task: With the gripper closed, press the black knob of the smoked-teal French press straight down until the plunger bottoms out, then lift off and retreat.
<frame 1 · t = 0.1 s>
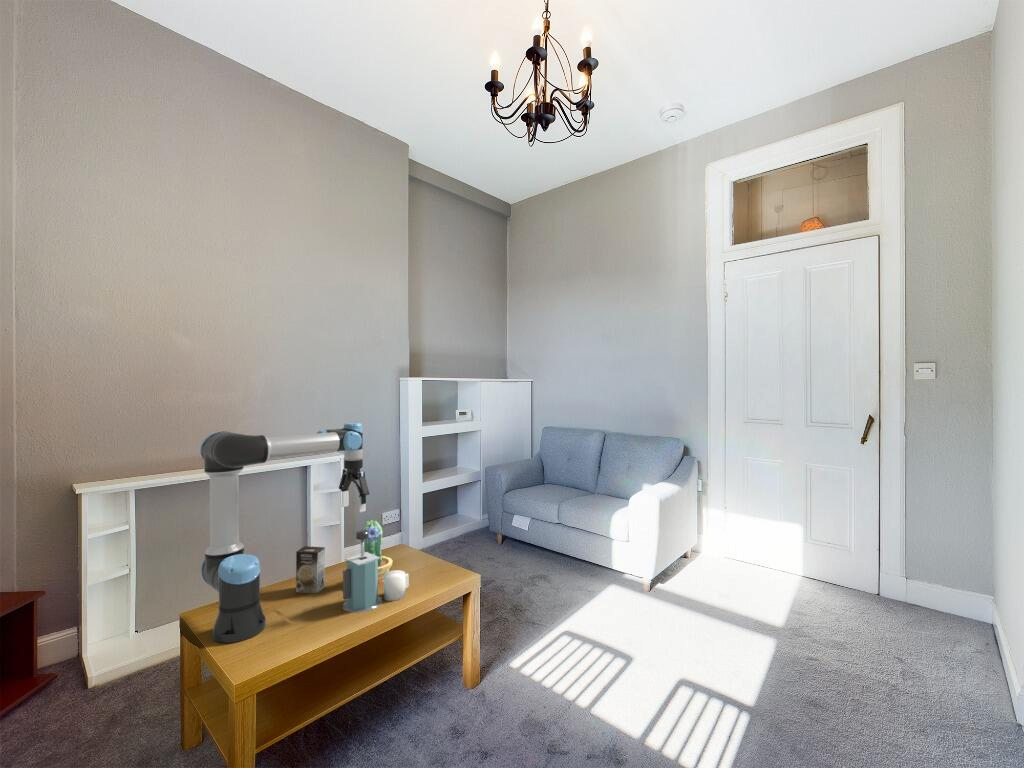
hand: (353, 508, 199), 28 cm above the table, tool pointing down, fingers open, 13 cm apart
trivet: (362, 605, 171), on the table
carafe: (362, 603, 171), resting on trivet
mug: (394, 598, 176), on the table
potted cactus: (373, 582, 191), on the table
plunger: (362, 554, 171), point 19 cm above the table, slide at 0.0 cm
coffee box: (310, 590, 185), on the table
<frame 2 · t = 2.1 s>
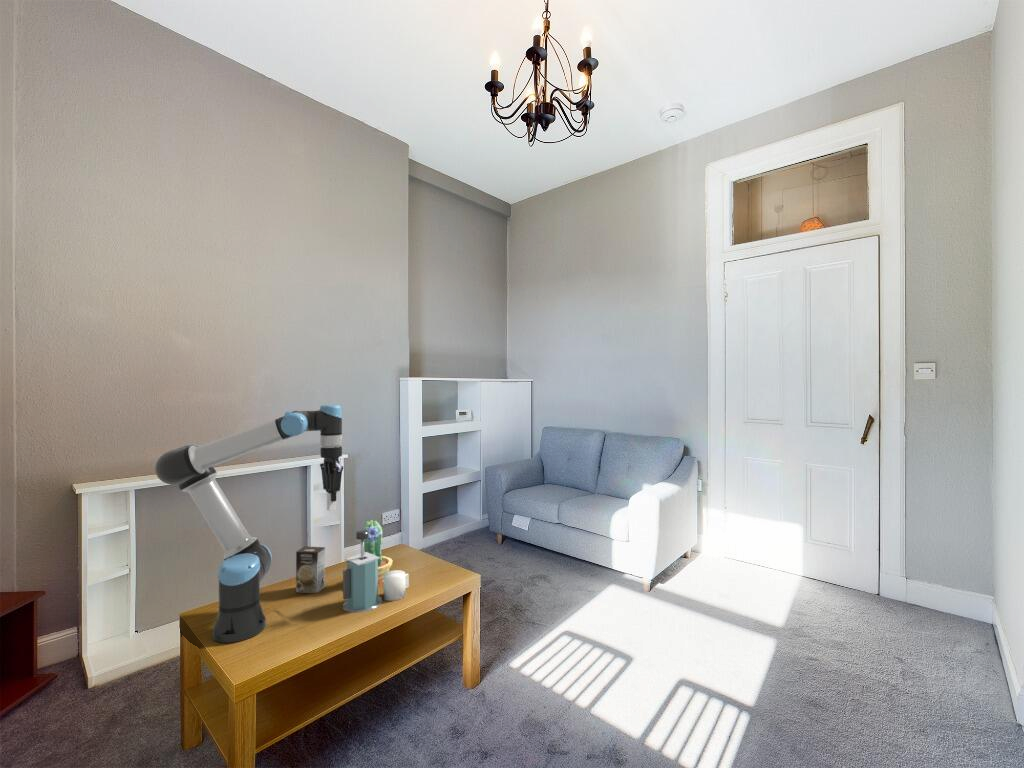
hand: (331, 509, 174), 34 cm above the table, tool pointing down, fingers closed
nothing on the table moved.
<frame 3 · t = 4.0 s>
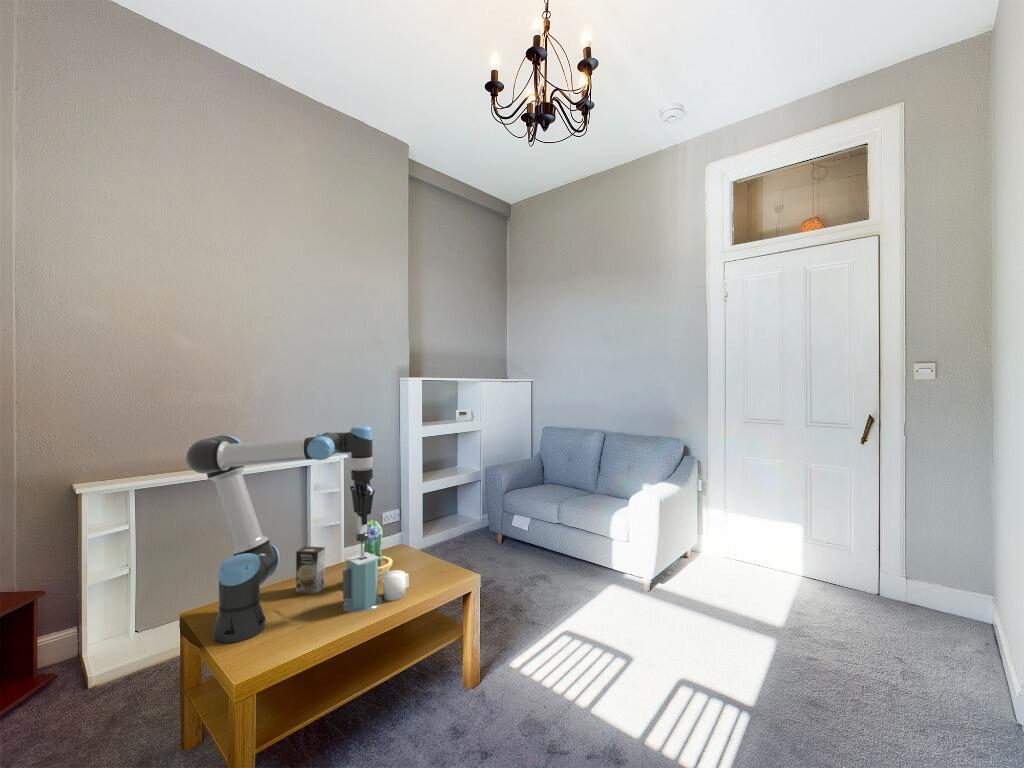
hand: (362, 532, 171), 26 cm above the table, tool pointing down, fingers closed
plunger: (362, 556, 171), point 18 cm above the table, slide at 0.6 cm, touching gripper
everything else where it was.
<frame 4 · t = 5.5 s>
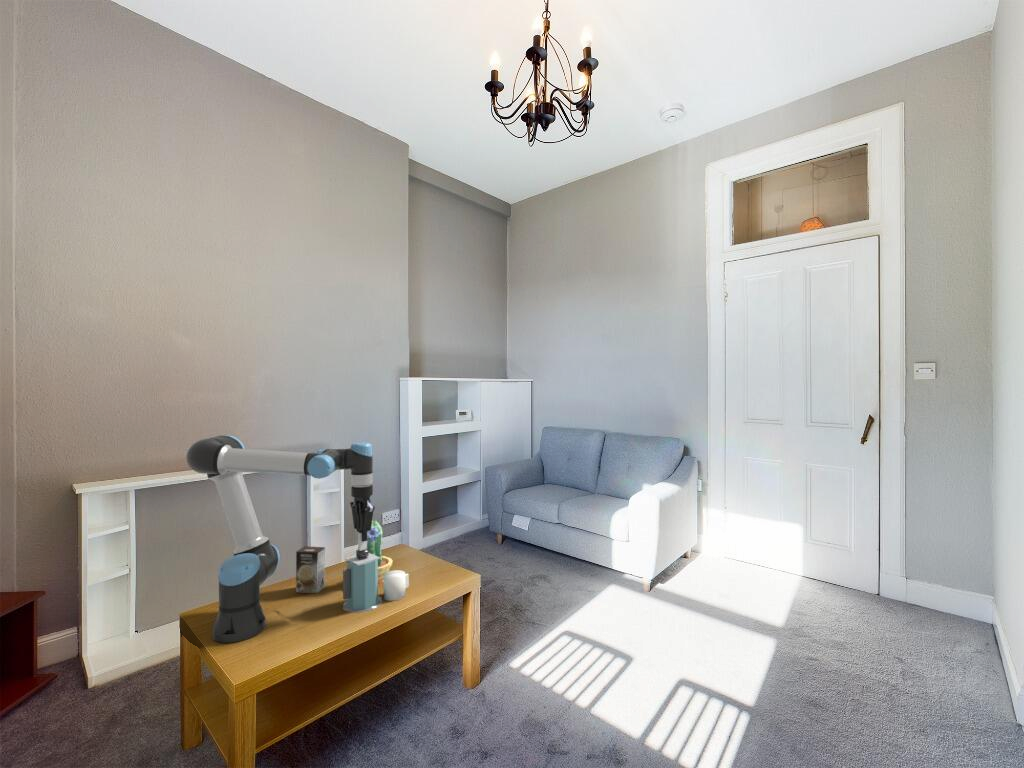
hand: (362, 549, 171), 20 cm above the table, tool pointing down, fingers closed
plunger: (362, 572, 171), point 12 cm above the table, slide at 6.6 cm, touching gripper
everything else where it was.
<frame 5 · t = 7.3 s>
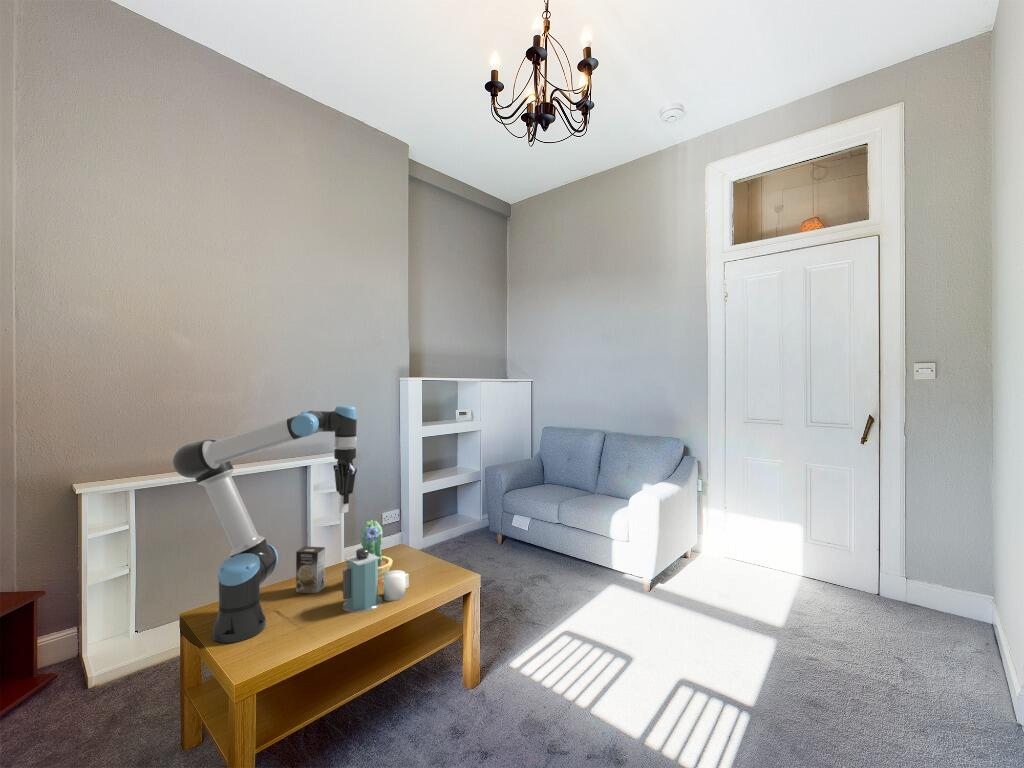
hand: (343, 512, 171), 34 cm above the table, tool pointing down, fingers closed
plunger: (362, 572, 171), point 12 cm above the table, slide at 6.6 cm
everything else where it was.
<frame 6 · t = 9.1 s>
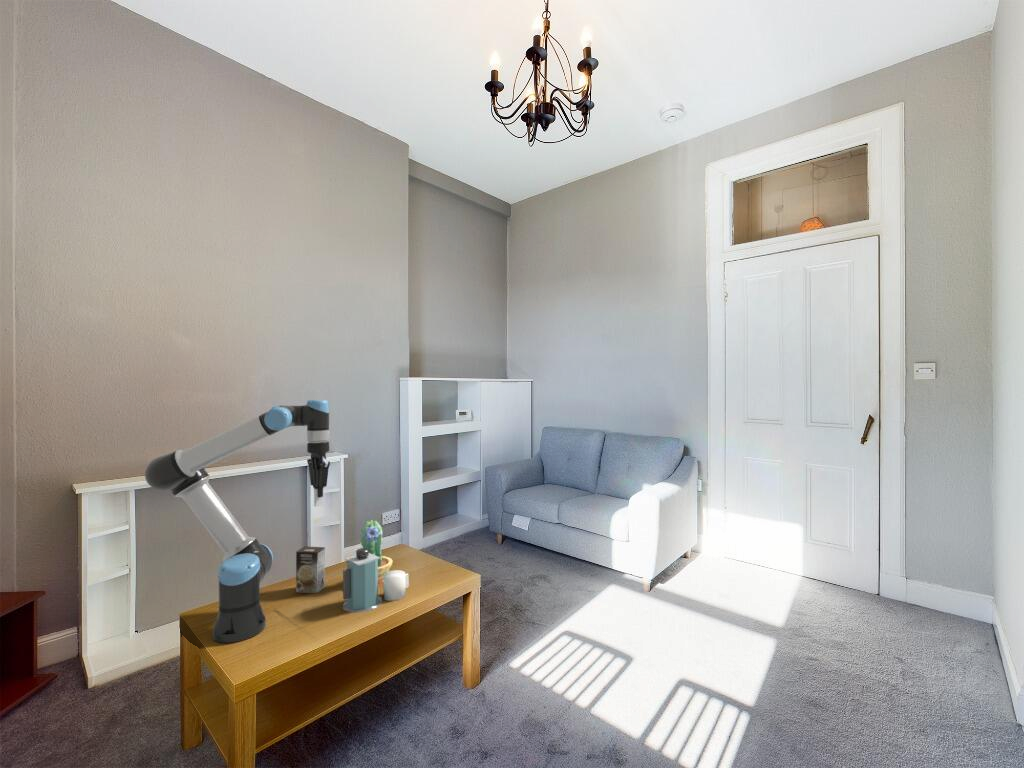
hand: (318, 505, 172), 36 cm above the table, tool pointing down, fingers closed
nothing on the table moved.
at the end: plunger slide at 6.6 cm; plunger touching nothing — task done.
